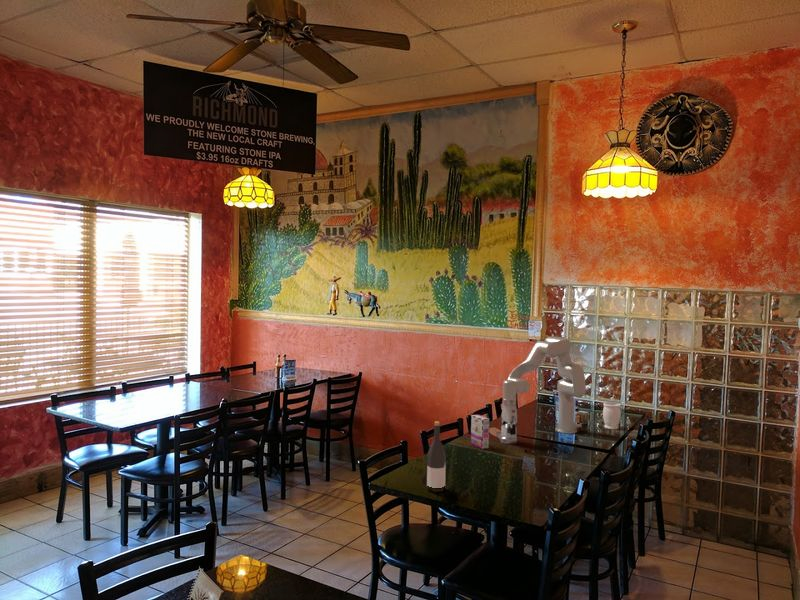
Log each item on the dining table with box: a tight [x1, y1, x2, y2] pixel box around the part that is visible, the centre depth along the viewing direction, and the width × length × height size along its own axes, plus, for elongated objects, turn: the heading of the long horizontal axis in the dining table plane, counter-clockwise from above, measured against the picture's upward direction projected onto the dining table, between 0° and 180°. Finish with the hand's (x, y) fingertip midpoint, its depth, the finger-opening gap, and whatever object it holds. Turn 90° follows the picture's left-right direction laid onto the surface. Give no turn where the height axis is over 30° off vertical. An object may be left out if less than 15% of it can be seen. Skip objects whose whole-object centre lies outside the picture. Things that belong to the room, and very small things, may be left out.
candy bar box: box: [470, 414, 491, 450], centre depth 324 cm, size 11×5×16 cm, turn 27°
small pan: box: [489, 426, 518, 445], centre depth 341 cm, size 9×26×7 cm, turn 17°
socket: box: [500, 423, 517, 439], centre depth 333 cm, size 6×6×7 cm
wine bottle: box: [426, 421, 447, 488], centre depth 259 cm, size 8×8×30 cm
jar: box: [602, 401, 622, 430], centre depth 367 cm, size 11×10×15 cm
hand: (508, 432), depth 333 cm, fingers open, 9 cm apart
